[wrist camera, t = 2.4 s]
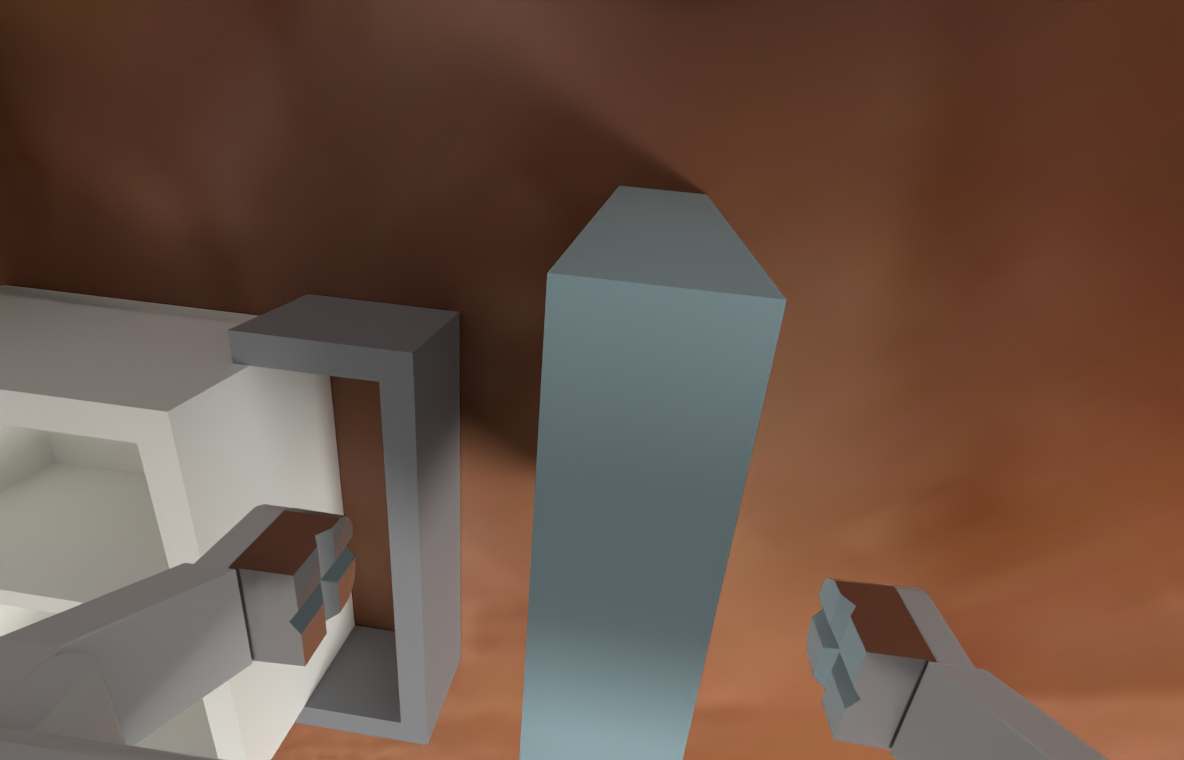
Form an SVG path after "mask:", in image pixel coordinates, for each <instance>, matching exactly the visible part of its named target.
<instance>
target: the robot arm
mask: <svg viewBox="0 0 1184 760" xmlns="http://www.w3.org/2000/svg"><path fill="white" fill-rule="evenodd" d="M352 537H353V528H352V520H351V519H350V518H348V517H347V516H345V515H338V514H332V513H325V512H319V511H312V510H305V509H299V508H289V507H283V506H276V505H269V504H262V505H259V506H256V507H254V508H253V509H252V510H251V511H250V512H249V513H248V514H247V515H246V516H245V517H244V518H243V519H241V520H240V521H239V522H238V523H237V524H236V525H235V526H234V527H233V528H232V529H231V530H230V531H229V532H227V533H226V534H225V535H224V536H223V537H222V538H221V539H220V540H219V541H218V542H217V543H216V544H215V545H213V546H212V547H211V548H210V549H209V550H208V551H207V552H206V553H205V554H204V555H203V556H202V557H201V558H199V559H198V560H197V561H196V562H195V563H194V564H191V563H183V564H180V565H178V566H175V567H173V568H170V569H168V570H165V571H163V572H160V573H158V574H155V575H153V576H150V577H148V578H145V579H143V580H140V581H138V582H135V583H133V584H130V585H128V586H125V587H123V588H120V589H118V590H115V591H113V592H110V593H108V594H105V595H103V596H100V597H98V598H95V599H93V600H90V601H88V602H85V603H83V604H80V605H78V606H75V607H73V608H70V609H68V610H65V611H63V612H60V613H58V614H55V615H53V616H50V617H48V618H46V619H43V620H41V621H38V622H36V623H33V624H31V625H28V626H26V627H23V628H21V629H18V630H16V631H13V632H11V633H8V634H6V635H3V636H1V637H0V760H225V759H218V758H211V757H205V756H198V755H191V754H184V753H177V752H171V751H164V750H157V749H150V748H143V747H136V746H134V745H135V744H137V743H138V742H139V741H141V740H142V739H144V738H145V737H147V736H148V735H150V734H151V733H153V732H154V731H155V730H157V729H158V728H160V727H161V726H163V725H164V724H166V723H167V722H168V721H170V720H171V719H173V718H174V717H176V716H177V715H179V714H180V713H182V712H183V711H184V710H186V709H187V708H189V707H190V706H192V705H193V704H195V703H196V702H198V701H199V700H200V699H202V698H203V697H205V696H206V695H208V694H209V693H211V692H212V691H213V690H215V689H216V688H218V687H219V686H221V685H222V684H224V683H225V682H227V681H228V680H229V679H231V678H232V677H234V676H235V675H237V674H238V673H240V672H241V671H242V670H244V669H245V668H247V667H248V666H250V665H251V664H252V661H260V662H269V663H279V664H288V665H297V666H306V665H307V663H308V662H309V660H310V659H311V657H312V655H313V654H314V652H315V651H316V649H317V648H318V646H319V645H320V643H321V642H322V640H323V639H324V637H325V636H326V634H327V630H326V621H327V620H328V619H330V618H332V617H334V616H335V615H337V614H339V613H340V612H341V611H342V609H343V607H344V606H345V604H346V602H347V601H348V599H349V596H350V593H351V591H352V588H353V585H354V581H355V573H356V561H355V556H354V555H353V554H352V552H351V551H350V550H349V549H348V548H347V544H348V543H349V542H350V540H351V539H352ZM819 599H820V602H821V604H822V607H823V609H822V610H821V611H820V612H818V613H817V614H816V615H814V616H813V617H812V619H811V623H810V627H809V631H808V644H807V651H808V658H809V664H810V667H811V670H812V674H813V677H814V678H815V679H816V680H817V681H818V682H819V683H820V684H821V685H822V686H823V687H824V688H825V691H824V694H823V697H822V700H821V702H822V705H823V708H824V711H825V714H826V717H827V720H828V723H829V727H830V730H831V733H832V736H833V739H834V740H836V741H842V742H848V743H854V744H860V745H866V746H872V747H878V748H884V749H890V750H891V751H890V753H891V754H892V755H893V756H894V758H895V759H896V760H1108V759H1107V758H1106V757H1104V756H1103V755H1102V754H1100V753H1099V752H1098V751H1096V750H1095V749H1093V748H1092V747H1091V746H1089V745H1088V744H1087V743H1085V742H1084V741H1083V740H1081V739H1080V738H1078V737H1077V736H1076V735H1074V734H1073V733H1072V732H1070V731H1069V730H1068V729H1066V728H1065V727H1063V726H1062V725H1061V724H1059V723H1058V722H1057V721H1055V720H1054V719H1052V718H1051V717H1050V716H1048V715H1047V714H1046V713H1044V712H1043V711H1042V710H1040V709H1039V708H1037V707H1036V706H1035V705H1033V704H1032V703H1031V702H1029V701H1028V700H1027V699H1025V698H1024V697H1022V696H1021V695H1020V694H1018V693H1017V692H1016V691H1014V690H1013V689H1012V688H1010V687H1009V686H1007V685H1006V684H1005V683H1003V682H1002V681H1001V680H999V679H998V678H997V677H995V676H994V675H992V674H991V673H990V672H988V671H987V670H986V669H979V668H975V667H974V665H973V664H972V662H971V661H970V659H969V657H968V656H967V654H966V653H965V651H964V650H963V648H962V646H961V645H960V643H959V642H958V640H957V639H956V637H955V636H954V634H953V632H952V631H951V629H950V628H949V626H948V625H947V623H946V622H945V620H944V618H943V617H942V615H941V614H940V612H939V611H938V609H937V607H936V606H935V604H934V603H933V601H932V600H931V598H930V597H929V595H928V593H927V592H925V591H924V590H923V589H921V588H918V587H909V586H899V585H882V584H874V583H865V582H857V581H849V580H841V579H833V578H827V579H826V580H825V582H824V583H823V584H822V587H821V590H820V593H819Z"/></svg>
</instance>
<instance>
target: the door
mask: <svg viewBox="0 0 1184 760" xmlns="http://www.w3.org/2000/svg"><path fill="white" fill-rule="evenodd" d="M786 301H787V299H786V298H785V297H784V295H783V294H782V293H781V291H780V290H779V289H778V288H777V286H776V285H775V284H774V282H773V281H772V280H771V278H770V277H769V276H768V274H767V273H766V272H765V270H764V269H763V268H762V266H761V265H760V264H759V263H758V261H757V260H756V259H755V257H754V256H753V255H752V253H751V252H750V251H749V249H748V248H747V247H746V245H745V244H744V243H743V242H742V240H741V239H740V238H739V236H738V235H737V234H736V232H735V231H734V230H733V228H732V227H731V226H730V224H729V223H728V222H727V220H726V219H725V218H724V217H723V215H722V214H721V213H720V211H719V210H718V209H717V207H716V206H715V205H714V203H713V202H712V201H711V199H710V198H709V197H708V195H707V194H698V193H688V192H678V191H668V190H658V189H649V188H639V187H629V186H619V187H618V188H617V189H616V190H615V191H614V193H613V194H612V195H611V196H610V198H609V199H608V200H607V201H606V202H605V204H604V205H603V206H602V207H601V208H600V210H599V211H598V212H597V213H596V214H595V216H594V217H593V218H592V219H591V221H590V222H589V223H588V224H587V225H586V227H585V228H584V229H583V230H582V231H581V233H580V234H579V235H578V236H577V238H576V239H575V240H574V241H573V242H572V244H571V245H570V246H569V247H568V248H567V250H566V251H565V252H564V253H563V254H562V256H561V257H560V258H559V259H558V261H557V262H556V263H555V264H554V265H553V267H552V268H551V269H550V270H549V271H548V273H547V287H546V305H545V322H544V340H543V358H542V375H541V393H540V410H539V428H538V445H537V463H536V480H535V498H534V515H533V533H532V550H531V568H530V586H529V603H528V621H527V638H526V656H525V673H524V691H523V708H522V726H521V743H520V760H683V755H684V751H685V747H686V742H687V738H688V733H689V729H690V725H691V720H692V716H693V711H694V707H695V703H696V698H697V694H698V689H699V685H700V680H701V676H702V672H703V667H704V663H705V658H706V654H707V650H708V645H709V641H710V636H711V632H712V628H713V623H714V619H715V614H716V610H717V605H718V601H719V597H720V592H721V588H722V583H723V579H724V575H725V570H726V566H727V561H728V557H729V553H730V548H731V544H732V539H733V535H734V530H735V526H736V522H737V517H738V513H739V508H740V504H741V500H742V495H743V491H744V486H745V482H746V478H747V473H748V469H749V464H750V460H751V455H752V451H753V447H754V442H755V438H756V433H757V429H758V425H759V420H760V416H761V411H762V407H763V403H764V398H765V394H766V389H767V385H768V380H769V376H770V372H771V367H772V363H773V358H774V354H775V350H776V345H777V341H778V336H779V332H780V328H781V323H782V319H783V314H784V310H785V306H786Z"/></svg>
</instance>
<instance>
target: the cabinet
mask: <svg viewBox="0 0 1184 760" xmlns="http://www.w3.org/2000/svg"><path fill="white" fill-rule="evenodd" d="M330 376H335V377H343V378H351V379H359V380H367V381H375V382H379V387H380V403H381V419H382V434H383V450H384V465H385V481H386V497H387V512H388V528H389V543H390V559H391V575H392V590H393V606H394V621H395V631H389V630H383V629H376V628H370V627H364V626H357V625H355V621H354V611H353V601H352V591H351V593H350V596H349V599H348V601H347V602H346V604H345V606H344V607H343V609H342V611H341V612H340V613H339V614H337V615H335V616H334V617H332V618H330V619H328V620H327V621H326V630H327V634H326V636H325V637H324V639H323V640H322V642H321V643H320V645H319V646H318V648H317V649H316V651H315V652H314V654H313V655H312V657H311V659H310V660H309V662H308V663H307V665H306V666H297V665H288V664H279V663H269V662H260V661H252V664H251V665H250V666H248V667H247V668H245V669H244V670H242V671H241V672H240V673H238V674H237V675H235V676H234V677H232V678H231V679H229V680H228V681H227V682H225V683H224V684H222V685H221V686H219V687H218V688H216V689H215V690H213V691H212V692H211V693H209V694H208V695H206V696H205V697H203V698H202V699H200V700H199V701H198V702H196V703H195V704H193V705H192V706H190V707H189V708H187V709H186V710H184V711H183V712H182V713H180V714H179V715H177V716H176V717H174V718H173V719H171V720H170V721H168V722H167V723H166V724H164V725H163V726H161V727H160V728H158V729H157V730H155V731H154V732H153V733H151V734H150V735H148V736H147V737H145V738H144V739H142V740H141V741H139V742H138V743H137V744H135V745H134V746H136V747H143V748H150V749H157V750H164V751H171V752H177V753H184V754H191V755H198V756H205V757H211V758H218V759H225V760H271V759H272V757H273V755H274V754H275V752H276V751H277V749H278V747H279V746H280V744H281V743H282V741H283V739H284V738H285V736H286V735H287V733H288V731H289V730H290V728H291V727H292V725H293V723H300V724H306V725H312V726H318V727H324V728H330V729H336V730H342V731H347V732H353V733H359V734H365V735H371V736H377V737H383V738H389V739H395V740H401V741H407V742H412V743H418V744H424V745H428V743H429V740H430V738H431V735H432V732H433V730H434V727H435V724H436V722H437V719H438V717H439V714H440V711H441V709H442V706H443V704H444V701H445V698H446V696H447V693H448V690H449V688H450V685H451V683H452V680H453V677H454V675H455V672H456V670H457V667H458V664H459V662H460V659H461V572H460V312H457V311H449V310H440V309H432V308H423V307H415V306H406V305H398V304H389V303H381V302H372V301H364V300H355V299H347V298H338V297H330V296H321V295H313V294H306V295H304V296H302V297H300V298H297V299H295V300H293V301H291V302H289V303H286V304H284V305H282V306H280V307H277V308H275V309H273V310H271V311H269V312H266V313H264V314H262V315H260V316H258V315H250V314H241V313H233V312H225V311H217V310H208V309H200V308H192V307H184V306H175V305H167V304H159V303H151V302H142V301H134V300H126V299H118V298H109V297H101V296H93V295H85V294H76V293H68V292H60V291H52V290H43V289H35V288H27V287H19V286H10V285H2V286H0V637H1V636H3V635H6V634H8V633H11V632H13V631H16V630H18V629H21V628H23V627H26V626H28V625H31V624H33V623H36V622H38V621H41V620H43V619H46V618H48V617H50V616H53V615H55V614H58V613H60V612H63V611H65V610H68V609H70V608H73V607H75V606H78V605H80V604H83V603H85V602H88V601H90V600H93V599H95V598H98V597H100V596H103V595H105V594H108V593H110V592H113V591H115V590H118V589H120V588H123V587H125V586H128V585H130V584H133V583H135V582H138V581H140V580H143V579H145V578H148V577H150V576H153V575H155V574H158V573H160V572H163V571H165V570H168V569H170V568H173V567H175V566H178V565H180V564H183V563H191V564H194V563H195V562H196V561H197V560H198V559H199V558H201V557H202V556H203V555H204V554H205V553H206V552H207V551H208V550H209V549H210V548H211V547H212V546H213V545H215V544H216V543H217V542H218V541H219V540H220V539H221V538H222V537H223V536H224V535H225V534H226V533H227V532H229V531H230V530H231V529H232V528H233V527H234V526H235V525H236V524H237V523H238V522H239V521H240V520H241V519H243V518H244V517H245V516H246V515H247V514H248V513H249V512H250V511H251V510H252V509H253V508H254V507H256V506H259V505H262V504H269V505H276V506H283V507H289V508H299V509H305V510H312V511H319V512H325V513H332V514H338V515H344V512H343V502H342V492H341V482H340V472H339V462H338V452H337V442H336V432H335V422H334V412H333V402H332V392H331V382H330Z"/></svg>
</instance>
